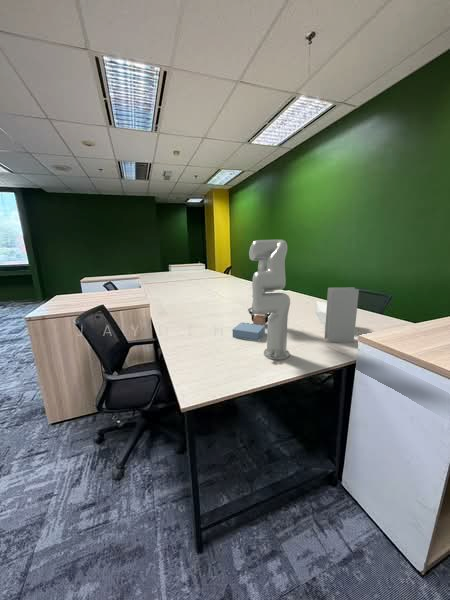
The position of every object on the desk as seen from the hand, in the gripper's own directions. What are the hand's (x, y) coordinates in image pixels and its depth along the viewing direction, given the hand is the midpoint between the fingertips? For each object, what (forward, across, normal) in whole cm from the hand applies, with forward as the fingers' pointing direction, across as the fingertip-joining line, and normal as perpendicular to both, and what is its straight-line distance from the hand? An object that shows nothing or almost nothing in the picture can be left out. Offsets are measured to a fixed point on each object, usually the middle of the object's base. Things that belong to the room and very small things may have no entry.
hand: (259, 321), depth 167 cm
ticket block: (+2, 0, -22) cm, 22 cm away
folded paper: (+2, +44, +16) cm, 47 cm away
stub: (+2, 0, 0) cm, 2 cm away
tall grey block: (+2, +50, -10) cm, 51 cm away
